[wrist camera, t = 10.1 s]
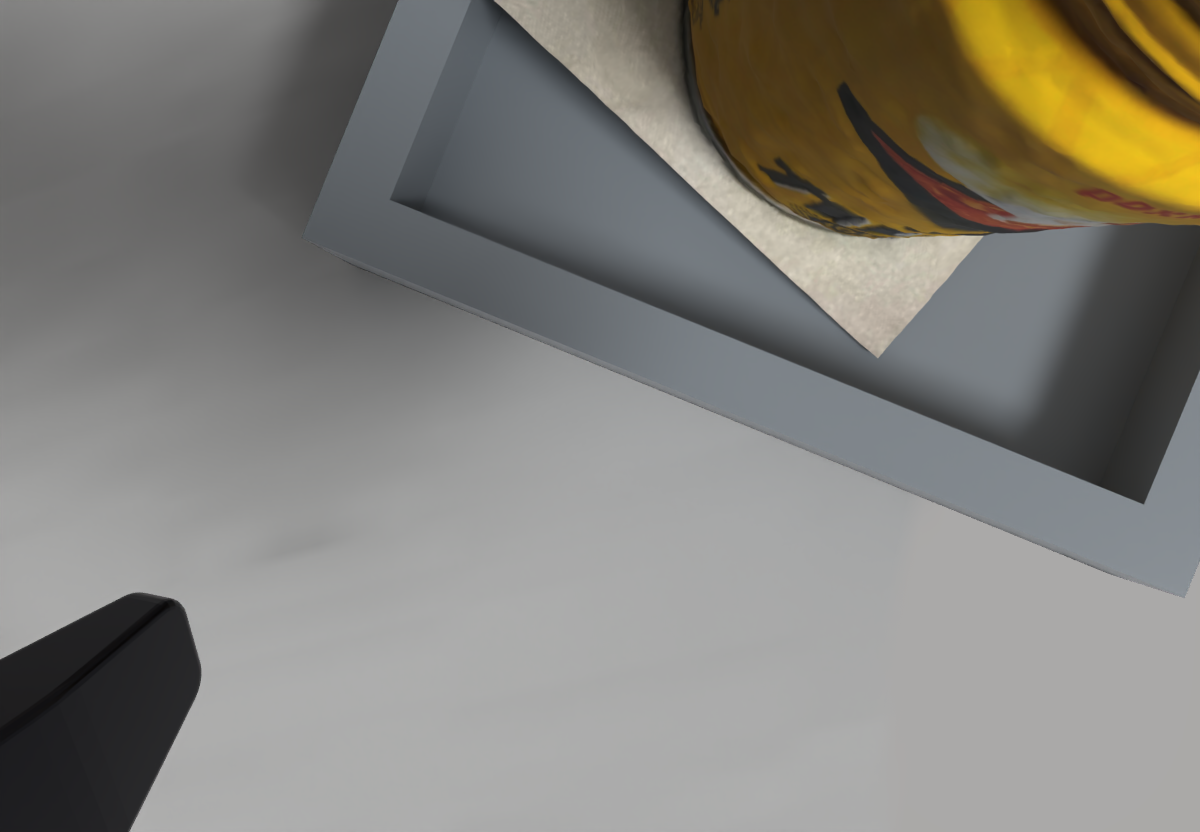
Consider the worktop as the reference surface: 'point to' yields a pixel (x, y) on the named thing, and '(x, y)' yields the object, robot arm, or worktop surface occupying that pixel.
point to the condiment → (899, 124)
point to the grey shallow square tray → (782, 302)
